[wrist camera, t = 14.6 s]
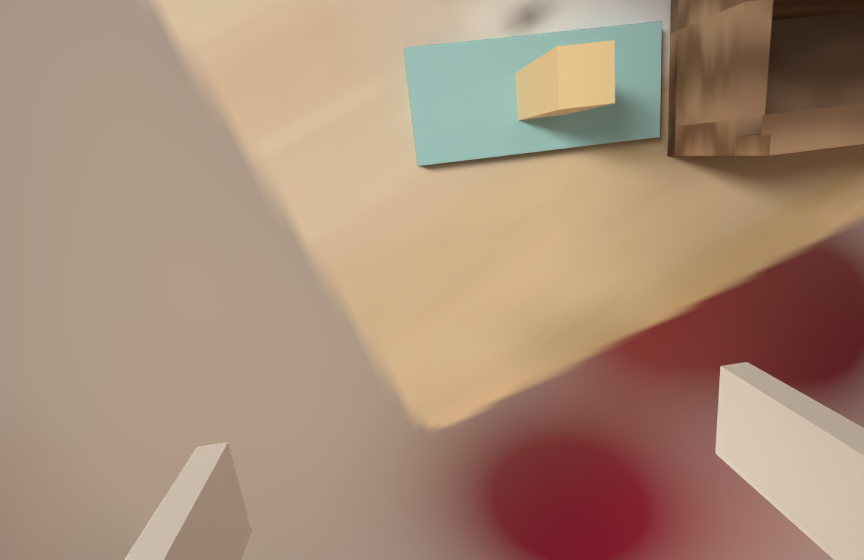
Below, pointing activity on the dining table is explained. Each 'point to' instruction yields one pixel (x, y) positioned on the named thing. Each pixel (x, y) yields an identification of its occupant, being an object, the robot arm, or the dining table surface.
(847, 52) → the walnut box
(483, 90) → the cover plate
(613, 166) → the dining table surface
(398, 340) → the dining table surface
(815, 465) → the robot arm
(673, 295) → the dining table surface
